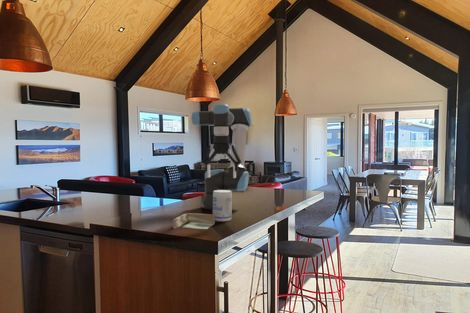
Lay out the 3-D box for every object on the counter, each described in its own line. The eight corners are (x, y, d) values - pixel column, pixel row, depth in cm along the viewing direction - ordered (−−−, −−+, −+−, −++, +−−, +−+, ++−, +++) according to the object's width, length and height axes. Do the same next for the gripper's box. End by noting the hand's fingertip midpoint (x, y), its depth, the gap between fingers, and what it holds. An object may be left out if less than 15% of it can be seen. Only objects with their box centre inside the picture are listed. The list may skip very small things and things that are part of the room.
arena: (186, 221, 166) (186, 213, 166) (216, 222, 162) (216, 214, 162) (172, 228, 151) (172, 219, 151) (205, 230, 147) (205, 221, 147)
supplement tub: (209, 220, 166) (209, 191, 166) (218, 217, 175) (217, 189, 174) (226, 222, 162) (226, 192, 162) (234, 218, 171) (234, 190, 170)
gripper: (195, 135, 166) (195, 177, 167) (243, 134, 160) (244, 178, 161) (200, 136, 173) (201, 176, 174) (247, 135, 167) (247, 177, 168)
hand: (221, 177), depth 167 cm, fingers open, 13 cm apart
